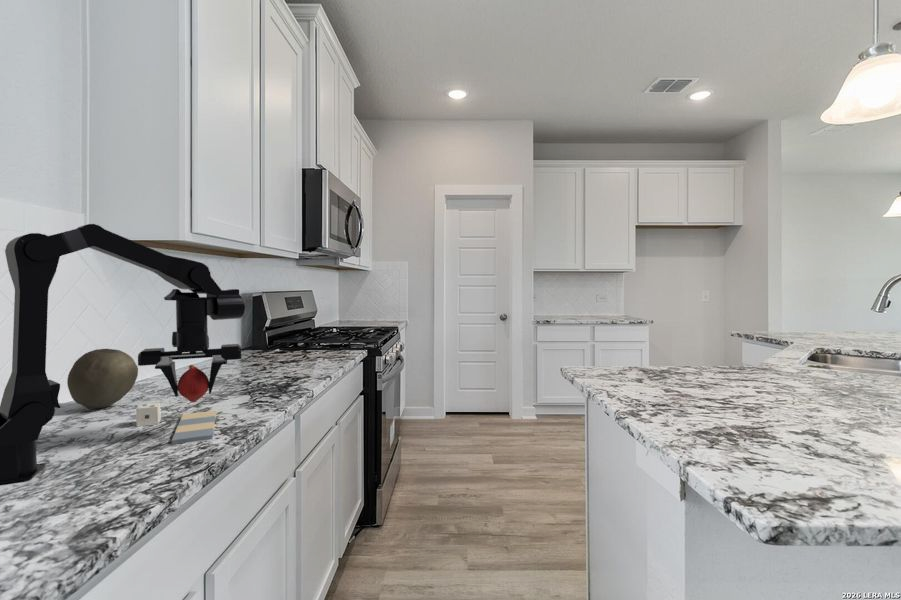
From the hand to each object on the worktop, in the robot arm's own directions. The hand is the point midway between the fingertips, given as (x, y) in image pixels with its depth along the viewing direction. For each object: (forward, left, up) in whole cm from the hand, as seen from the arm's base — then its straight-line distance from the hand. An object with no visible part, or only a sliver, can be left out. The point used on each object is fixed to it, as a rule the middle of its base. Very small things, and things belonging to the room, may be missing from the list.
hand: (193, 394), depth 96 cm
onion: (0, 0, -2) cm, 2 cm away
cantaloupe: (+34, +23, -8) cm, 41 cm away
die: (+12, +10, -8) cm, 17 cm away
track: (+3, 0, -8) cm, 8 cm away
